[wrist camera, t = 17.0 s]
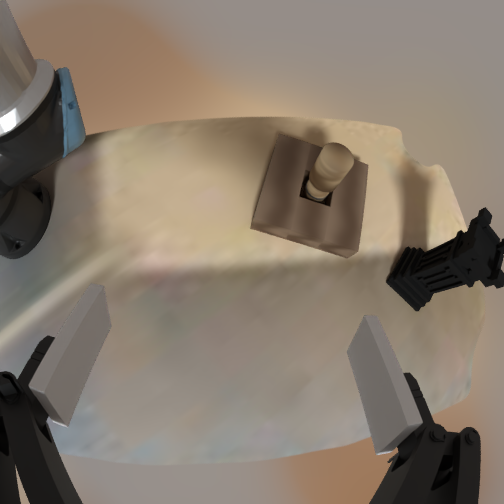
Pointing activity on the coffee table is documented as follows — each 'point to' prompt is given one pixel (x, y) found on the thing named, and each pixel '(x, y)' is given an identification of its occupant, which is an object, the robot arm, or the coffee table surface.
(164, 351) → the coffee table surface
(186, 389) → the coffee table surface
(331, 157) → the oak peg
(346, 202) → the walnut board
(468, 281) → the chess piece
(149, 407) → the coffee table surface
